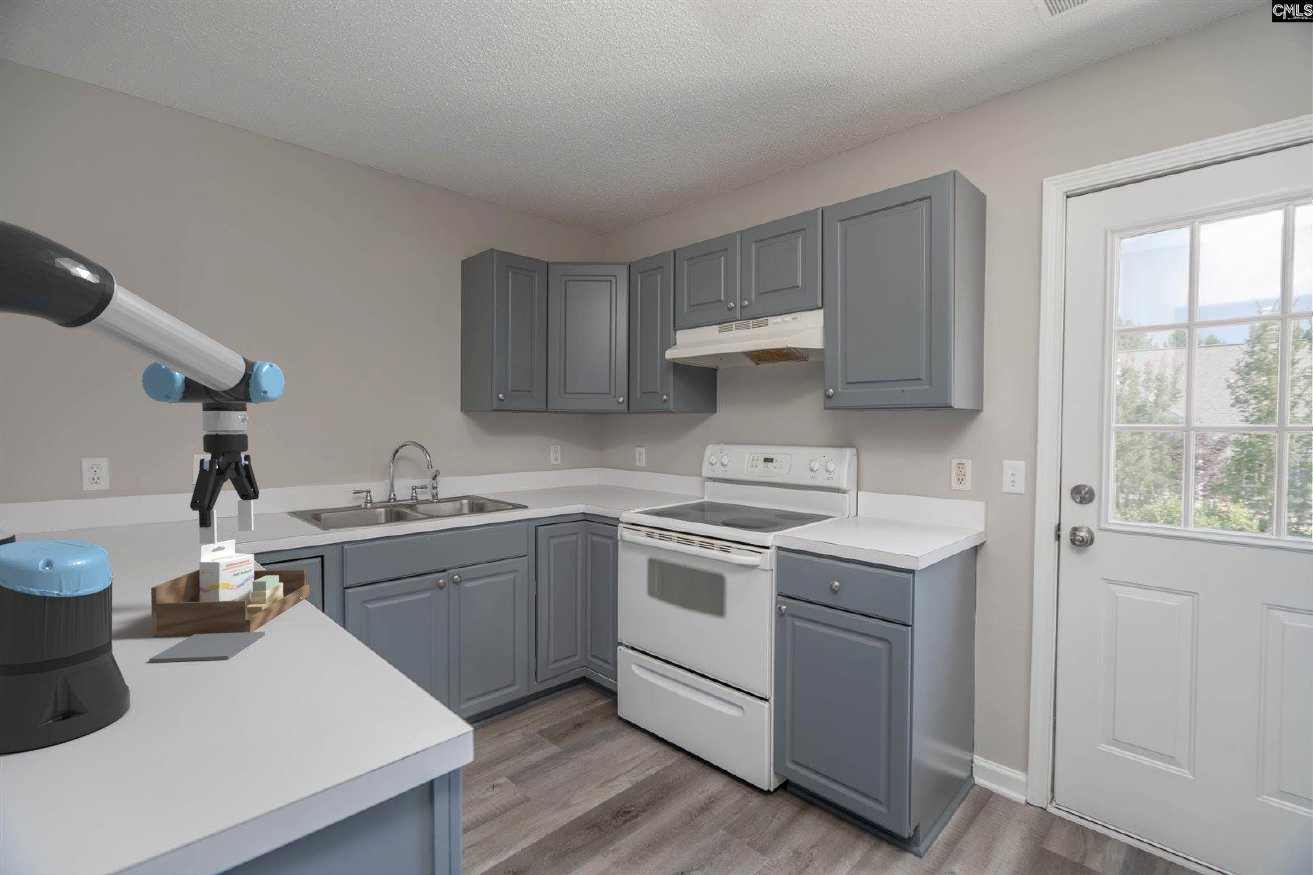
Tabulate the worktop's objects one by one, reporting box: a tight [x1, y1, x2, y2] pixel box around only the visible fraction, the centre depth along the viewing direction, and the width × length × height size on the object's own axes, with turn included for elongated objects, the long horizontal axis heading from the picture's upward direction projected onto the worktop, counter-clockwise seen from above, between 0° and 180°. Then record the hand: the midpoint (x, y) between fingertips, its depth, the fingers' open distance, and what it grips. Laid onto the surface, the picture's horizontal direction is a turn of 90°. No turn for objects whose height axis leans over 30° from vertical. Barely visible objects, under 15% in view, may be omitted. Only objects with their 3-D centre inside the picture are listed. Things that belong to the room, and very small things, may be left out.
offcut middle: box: [251, 583, 283, 604], centre depth 129 cm, size 7×3×2 cm, turn 6°
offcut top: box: [252, 575, 279, 591], centre depth 128 cm, size 5×3×2 cm, turn 5°
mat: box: [148, 631, 266, 664], centre depth 108 cm, size 12×12×1 cm
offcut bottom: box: [247, 595, 284, 619], centre depth 128 cm, size 9×3×3 cm, turn 7°
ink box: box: [199, 539, 255, 606], centre depth 127 cm, size 9×5×15 cm, turn 168°
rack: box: [150, 568, 311, 637], centre depth 127 cm, size 25×17×9 cm, turn 7°
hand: (228, 536), depth 127 cm, fingers open, 13 cm apart
